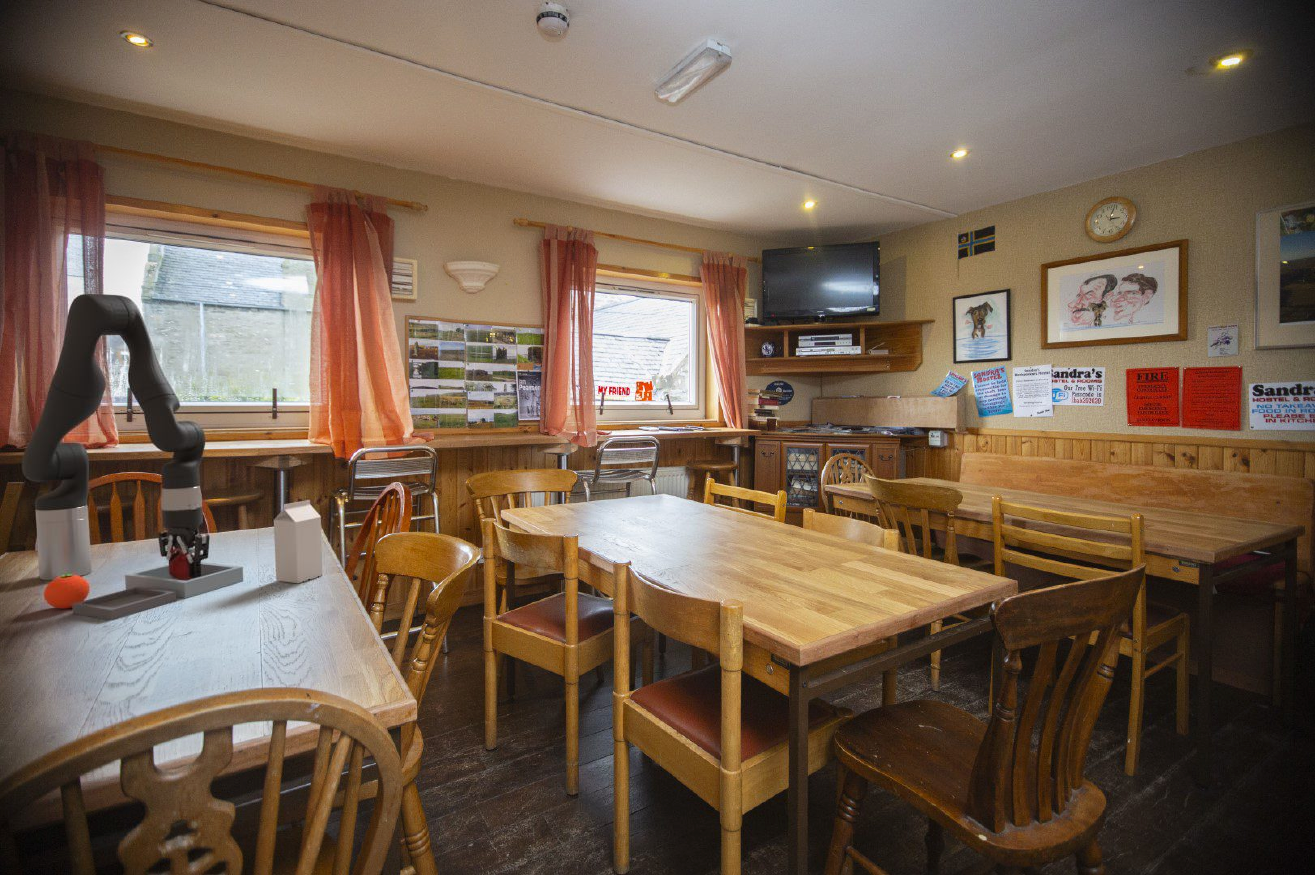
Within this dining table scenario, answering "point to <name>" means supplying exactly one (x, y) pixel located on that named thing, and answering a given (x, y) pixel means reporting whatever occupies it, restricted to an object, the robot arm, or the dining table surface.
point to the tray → (123, 603)
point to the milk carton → (298, 543)
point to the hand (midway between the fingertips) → (185, 575)
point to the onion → (180, 567)
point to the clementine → (66, 591)
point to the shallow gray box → (208, 581)
